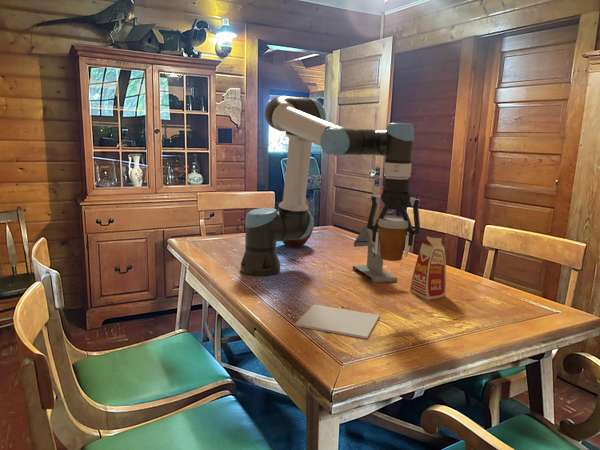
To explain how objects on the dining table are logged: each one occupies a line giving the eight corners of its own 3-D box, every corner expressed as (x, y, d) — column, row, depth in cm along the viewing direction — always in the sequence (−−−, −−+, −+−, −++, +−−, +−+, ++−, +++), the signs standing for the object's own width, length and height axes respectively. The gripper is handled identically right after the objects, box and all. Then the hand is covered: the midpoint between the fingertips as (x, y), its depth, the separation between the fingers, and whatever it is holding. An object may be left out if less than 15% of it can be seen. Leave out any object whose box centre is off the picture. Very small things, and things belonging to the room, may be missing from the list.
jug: (292, 239, 230) (294, 179, 224) (322, 244, 220) (324, 182, 214) (267, 245, 214) (268, 181, 209) (298, 252, 204) (300, 185, 198)
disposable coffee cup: (408, 263, 132) (411, 222, 130) (374, 261, 134) (377, 220, 131) (406, 255, 141) (409, 217, 139) (375, 253, 143) (377, 215, 140)
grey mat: (294, 325, 125) (295, 323, 125) (314, 306, 140) (314, 304, 140) (367, 339, 119) (367, 336, 118) (379, 317, 133) (379, 315, 133)
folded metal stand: (397, 282, 166) (401, 228, 163) (373, 284, 164) (376, 229, 160) (374, 268, 184) (377, 218, 180) (352, 269, 181) (355, 219, 177)
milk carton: (427, 299, 149) (432, 239, 145) (408, 290, 157) (412, 233, 153) (448, 296, 153) (453, 237, 150) (428, 287, 161) (433, 231, 158)
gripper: (358, 176, 133) (354, 252, 137) (433, 181, 126) (426, 261, 130) (364, 174, 140) (360, 247, 144) (435, 179, 133) (428, 255, 137)
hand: (391, 254), depth 137 cm, fingers closed on disposable coffee cup, 8 cm apart
